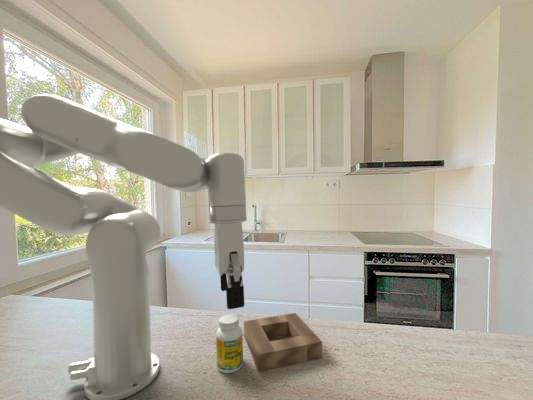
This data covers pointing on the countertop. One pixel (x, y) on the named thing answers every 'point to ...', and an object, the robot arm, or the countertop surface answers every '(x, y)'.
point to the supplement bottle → (229, 344)
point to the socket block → (281, 341)
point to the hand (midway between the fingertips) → (231, 297)
